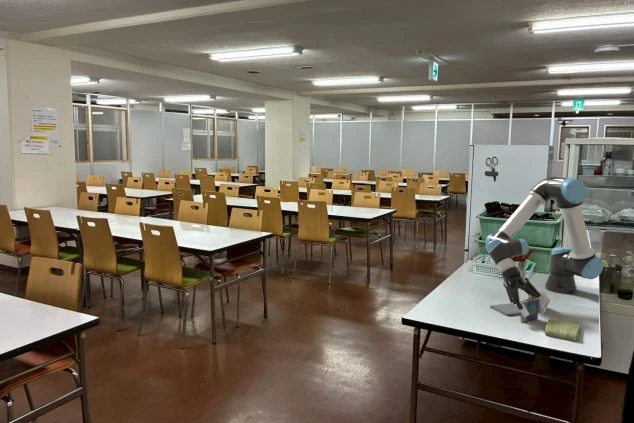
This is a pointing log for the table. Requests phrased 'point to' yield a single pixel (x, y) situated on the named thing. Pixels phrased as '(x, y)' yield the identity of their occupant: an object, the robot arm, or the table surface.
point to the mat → (507, 309)
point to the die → (544, 299)
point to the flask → (530, 309)
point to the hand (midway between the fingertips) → (535, 314)
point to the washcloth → (562, 329)
